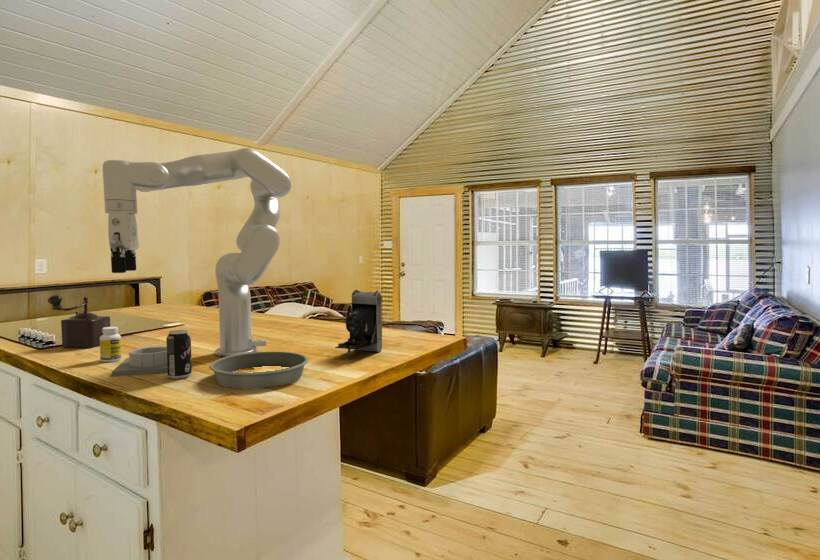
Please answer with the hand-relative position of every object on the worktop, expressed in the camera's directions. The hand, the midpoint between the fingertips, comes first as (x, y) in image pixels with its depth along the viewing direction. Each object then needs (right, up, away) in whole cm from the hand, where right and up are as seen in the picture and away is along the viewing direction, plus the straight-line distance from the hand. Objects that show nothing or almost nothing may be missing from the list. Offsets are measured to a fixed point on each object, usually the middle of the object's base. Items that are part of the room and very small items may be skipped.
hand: (124, 271), depth 134 cm
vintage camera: (+61, -26, +21) cm, 70 cm away
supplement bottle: (-12, -26, +13) cm, 32 cm away
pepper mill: (-33, -25, +33) cm, 53 cm away
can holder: (+4, -27, +6) cm, 28 cm away
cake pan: (+38, -28, -5) cm, 48 cm away
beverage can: (+17, -28, -5) cm, 33 cm away
